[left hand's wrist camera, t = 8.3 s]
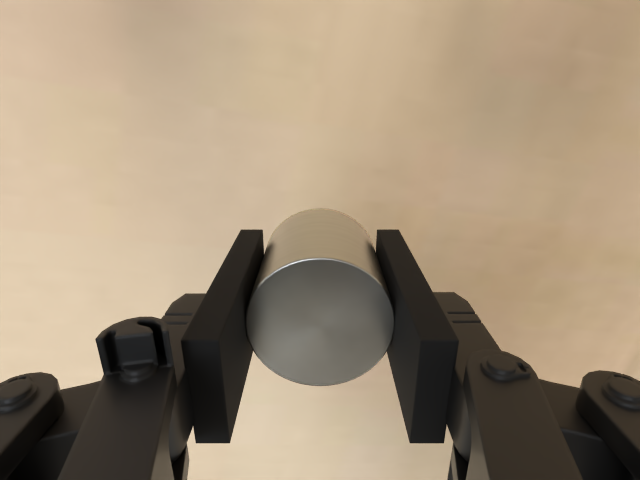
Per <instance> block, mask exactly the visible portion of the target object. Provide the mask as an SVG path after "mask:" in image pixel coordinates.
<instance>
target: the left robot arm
mask: <svg viewBox="0 0 640 480" xmlns="http://www.w3.org/2000/svg"><path fill="white" fill-rule="evenodd" d="M376 256H377V259H378V262H379V265H380V268H381V271H382V274H383V277H384V280H385V283H386V286H387V289H388V292H389V295H390V298H391V301H392V304H393V308H394V313H395V327H394V335H393V338H392V341H391V344H390V346H389V348H388V350H387V354H388V358H389V362H390V366H391V370H392V374H393V378H394V382H395V386H396V390H397V394H398V398H399V402H400V406H401V410H402V414H403V418H404V422H405V426H406V430H407V434H408V438H409V442H410V443H444V438H445V432H446V425H447V426H448V429H449V431H450V434H451V437H452V439H453V448H452V454H451V461H450V467H449V473H448V480H640V381H638V380H636V379H634V378H632V377H630V376H627V375H624V374H621V373H616V372H610V371H600V370H599V371H594V372H589V373H588V374H586V375H585V376H584V377H583V379H582V382H581V386H580V388H576V387H572V386H567V385H562V384H557V383H553V382H548V381H545V380H541V379H538V377H537V375H536V373H535V372H534V370H533V369H532V367H531V366H530V365H529V364H527V363H526V362H525V361H523V360H522V359H521V358H519V357H517V356H514V355H512V354H510V353H508V352H504V351H501V350H500V348H499V347H498V345H497V344H496V342H495V341H494V339H493V338H492V336H491V335H490V334H489V332H488V331H487V329H486V328H485V326H484V325H483V323H481V320H480V319H479V317H478V316H477V315H476V314H475V312H474V310H473V309H472V307H471V306H470V304H469V303H468V301H466V300H465V299H463V298H462V297H460V296H459V295H457V294H456V293H454V292H432V290H431V288H430V286H429V285H428V283H427V281H426V279H425V277H424V275H423V274H422V272H421V270H420V268H419V266H418V264H417V263H416V261H415V259H414V257H413V255H412V253H411V252H410V250H409V248H408V246H407V244H406V242H405V241H404V239H403V237H402V235H401V233H400V231H399V230H377V241H376ZM263 257H264V246H263V230H241V231H240V233H239V235H238V236H237V238H236V240H235V242H234V244H233V246H232V247H231V249H230V251H229V253H228V255H227V257H226V258H225V260H224V262H223V264H222V266H221V268H220V269H219V271H218V273H217V275H216V277H215V278H214V280H213V282H212V284H211V286H210V288H209V289H208V291H207V293H206V294H185V295H183V296H182V297H180V298H179V299H177V300H176V301H174V302H173V303H172V304H171V306H170V307H169V308H168V310H167V311H166V313H165V316H163V317H162V319H159V318H155V317H137V318H131V319H126V320H124V321H121V322H118V323H116V324H113V325H111V326H110V327H108V328H107V329H105V330H104V331H102V332H101V333H100V334H99V336H98V337H97V338H96V343H97V347H98V351H99V355H100V360H101V364H102V368H103V372H104V375H103V378H102V380H101V381H98V382H94V383H91V384H86V385H81V386H77V387H72V388H67V389H62V390H60V387H59V384H58V380H57V379H56V378H55V377H54V376H53V375H52V374H47V373H42V372H39V373H28V374H24V375H19V376H16V377H13V378H10V379H8V380H6V381H4V382H2V383H0V480H187V475H188V467H189V455H188V448H187V441H188V438H189V435H190V432H191V430H192V427H194V434H195V440H196V443H230V440H231V436H232V432H233V428H234V424H235V421H236V417H237V413H238V409H239V405H240V401H241V397H242V393H243V389H244V385H245V381H246V377H247V373H248V369H249V365H250V361H251V357H252V353H253V349H252V347H251V345H250V343H249V340H248V337H247V333H246V327H245V315H246V309H247V306H248V302H249V299H250V296H251V293H252V290H253V287H254V284H255V281H256V278H257V275H258V272H259V269H260V266H261V263H262V260H263Z"/></svg>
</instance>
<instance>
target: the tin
mask: <svg viewBox="0 0 640 480" xmlns="http://www.w3.org/2000/svg"><path fill="white" fill-rule="evenodd" d="M245 327H246V333H247V337H248V340H249V343H250V345H251V347H252V349H253V351H254V352H255V354H256V355H257V357H258V358H259V359H260V360H261V361H262V363H263V364H264V365H266V366H267V367H268V368H269V369H270V370H272V371H273V372H275V373H276V374H278V375H280V376H281V377H283V378H285V379H288V380H290V381H293V382H296V383H300V384H305V385H312V386H329V385H335V384H340V383H344V382H347V381H350V380H353V379H355V378H357V377H359V376H361V375H363V374H364V373H366V372H367V371H369V370H370V369H371V368H373V367H374V366H375V365H376V364H377V363H378V362H379V361H380V360H381V358H382V357H383V356H384V354H385V353H386V351H387V350H388V348H389V346H390V344H391V341H392V338H393V335H394V327H395V313H394V308H393V304H392V301H391V298H390V295H389V292H388V289H387V286H386V283H385V280H384V277H383V274H382V271H381V268H380V265H379V262H378V259H377V256H376V253H375V250H374V246H373V243H372V241H371V239H370V237H369V235H368V233H367V232H366V230H365V229H364V228H363V227H362V226H361V225H360V224H359V223H358V222H357V221H356V220H354V219H353V218H351V217H350V216H348V215H346V214H344V213H341V212H338V211H335V210H330V209H310V210H305V211H302V212H299V213H297V214H295V215H292V216H291V217H289V218H288V219H286V220H285V221H284V222H282V223H281V224H280V225H279V226H278V227H277V228H276V230H275V231H274V232H273V234H272V235H271V238H270V240H269V242H268V245H267V248H266V251H265V254H264V257H263V260H262V263H261V266H260V269H259V272H258V275H257V278H256V281H255V284H254V287H253V290H252V293H251V296H250V299H249V302H248V306H247V309H246V315H245Z"/></svg>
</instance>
